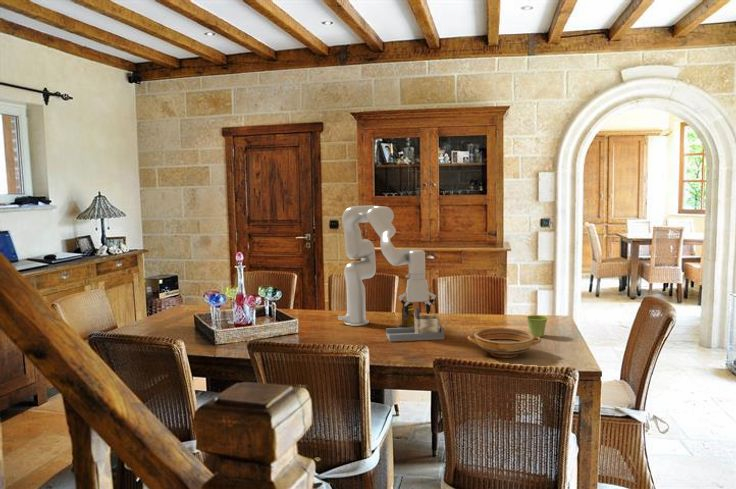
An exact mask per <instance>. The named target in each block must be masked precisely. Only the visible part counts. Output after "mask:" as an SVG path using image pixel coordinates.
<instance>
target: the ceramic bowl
mask: <svg viewBox="0 0 736 489" xmlns="http://www.w3.org/2000/svg"><path fill="white" fill-rule="evenodd" d="M467 339H468V341H470V342H471V343H473V344H475V345H478V346H479V348H481V349H482V350H484V351H486V352H488V353H489V354H490V355H491V356H493V357H497V358H503V359H509V358H511V359H512V358H515V357H517V356H518V355H519V354H522V353H524V352H526V351H528V350H530V348H531V347H534V346H535V345H538V344H541V342H542V337H535V336H534V335H533V334H531V333H530V332H529V331H526V330H522V329H518V328H517V329H516V328H509V327H493V328H492V327H490V328H483V329H479V330H477V331H475V332H474V334H473V335H472V334H471V335H470V334H469V335H468V336H467Z"/></svg>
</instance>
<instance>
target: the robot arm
mask: <svg viewBox="0 0 736 489" xmlns="http://www.w3.org/2000/svg"><path fill="white" fill-rule="evenodd" d="M394 213H395V212H394V211H393V209H391V207H388V206H383V205H382V206H380V205H355V206H354V205H353V206H349V207H348V208H346V209H345V210H344V211H343V213H342V218H341V221H342V222H341V223H342V228H343V233H344V243H345V244H344V245H345V246H344V247H345V255H346V257H347V258H348V259H350V260H357V259H360V260H359V261H358V260H357V261H352V262H351V261H350V262H349V263H347V264H346V265H345V267H344V270H343V274H344V280H345V285H346V286H345V287H346V288H345V289H346V290H345V291H346V313H345V315H338V316H337V319H338V320H340V321H343V323H344V324H345V325H347V326H352V327H353V326H354V327H359V326H361V327H362V326H366V325H368V324H369V321H370V320H369V319H366V287H365V284H364V281H363V280H367V279H371V278H373V277H374V276H375V275H376V271H377V262H376V251H375V250H376V249H375V246H374V243H373V241H371V240H370V239H367V238H363V237H362V230H361V227H360V226H359V225H358V224H361V223H369V224H370V225H371V227H372V229H374V231H375V233H376V234H377V236H378V238H380V241H379V242H380V243H379V244H380V250H381V253H382V255H383V257H384V258H385V259H386V260H387V262H388V263H389V264H390V265H392V266H394V267H397V266H398V267H399V266H404V265H408V273H407V274H405V278H407V281H406V288H405V292H404V293H402V294H400V295H399V296H397V297H398V300H399V302H400V303H401V304H402V306H403V305H404V312H405V313H406V314H407V315H408V304H409V302H412V303H425V302H426V305H425V313H426V315H430V312H431V305H432V304H433V303H434V302H435V299H436V297H437V295H436V294H434V293H432V292H430V291H429V284H428V280H427V279H426V252H425V251H424V250H423V249H413V248H410V247H409V248H408V247H405V248H397V249H396V247H395V246H394V244H393V243H392V241H391V238H392V237H394V236H395V234H396V232H397V231H396V228H395V226H394V225H393V221H394V218H395V214H394ZM430 297H431V298H430ZM403 298H405V300H404V299H403Z"/></svg>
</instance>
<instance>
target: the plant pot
mask: <svg viewBox="0 0 736 489" xmlns="http://www.w3.org/2000/svg"><path fill="white" fill-rule="evenodd" d="M525 318H526V320H527V323H528V329H529V331H528V332H529V333H531V334H533V335H534V336H535V337H540V338H543V337H544V336H545V331H546V330H545V329H546V323H547V320H549V318H548V317H547V316H544V315H541V314H540V315H539V314H538V315H537V314H535V315H528V316H526V317H525Z"/></svg>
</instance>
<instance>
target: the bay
mask: <svg viewBox="0 0 736 489" xmlns="http://www.w3.org/2000/svg"><path fill="white" fill-rule="evenodd" d="M444 328H445V327H444V326H443V325H441V323H440V332H433V333H415V327H411V328H399V327H390V328H388V327H387V328H385V335H386V337H387V339H388V341H389V342H408V341H409V342H412V341H431V340H432V341H433V340H434V341H435V340H445V332H444V331H445V330H444Z"/></svg>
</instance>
